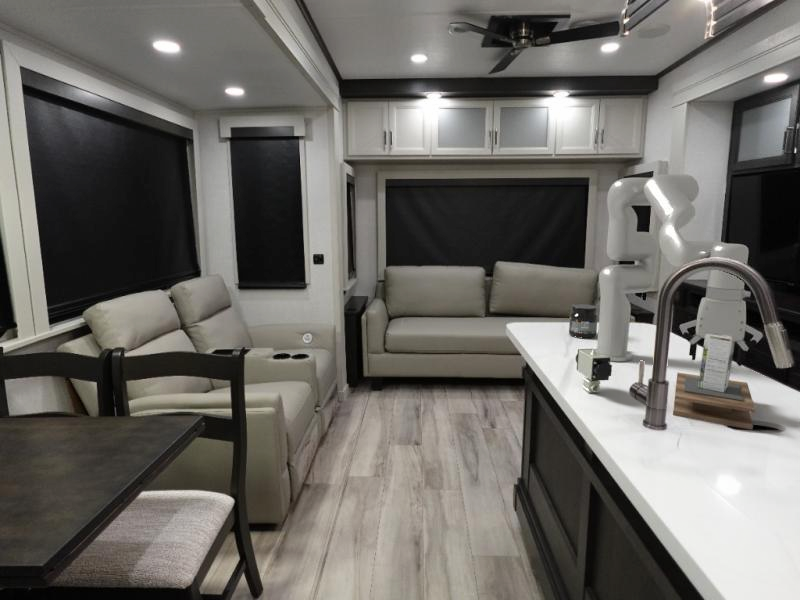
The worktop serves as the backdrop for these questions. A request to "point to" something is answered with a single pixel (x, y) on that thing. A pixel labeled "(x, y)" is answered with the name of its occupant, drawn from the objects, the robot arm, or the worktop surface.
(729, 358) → the syrup box
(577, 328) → the supplement container
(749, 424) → the walnut stand
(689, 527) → the worktop surface
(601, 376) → the pneumatic valve
